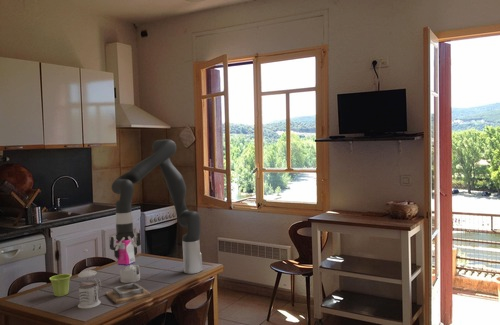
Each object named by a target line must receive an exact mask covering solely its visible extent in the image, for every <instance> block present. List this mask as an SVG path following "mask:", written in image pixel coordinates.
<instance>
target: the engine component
mask: <svg viewBox="0 0 500 325" xmlns="http://www.w3.org/2000/svg"><path fill="white" fill-rule="evenodd" d="M119 276H120V280H119V281H120V282H121V283H123V284H124V283H125V284H126V283H127V284H131V283H136V282H137V281H139V280H141V271H140V265H139V264H134V263H133V264H130V265H128V266H124V267H123V269H119Z"/></svg>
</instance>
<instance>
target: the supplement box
mask: <svg viewBox="0 0 500 325" xmlns="http://www.w3.org/2000/svg"><path fill="white" fill-rule="evenodd" d="M132 240H133V241H134V238H133V239H132ZM134 242H135V241H134ZM117 243H119V241H118V240H116V242H115V245H116V244H117ZM121 243H122V244H121V246H120V247H119V248H118V255H119V258H118V259H117V266H124V267H126V266H128V265H130V264H133V265H134V264H135V263H136V257H135V256H136V255H135V254H134V245H133V244H132V243H131V240H124V241H122V242H121Z"/></svg>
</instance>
